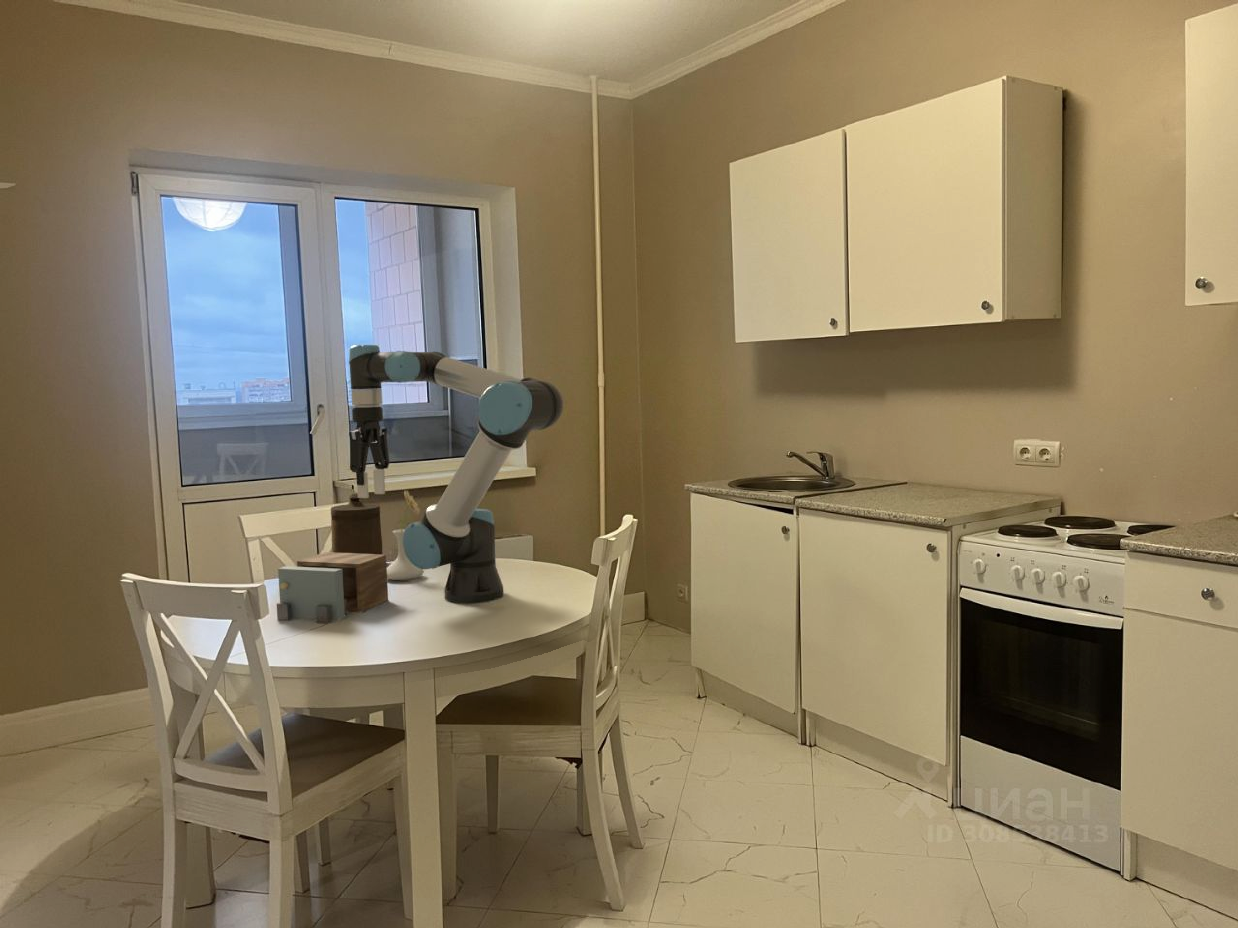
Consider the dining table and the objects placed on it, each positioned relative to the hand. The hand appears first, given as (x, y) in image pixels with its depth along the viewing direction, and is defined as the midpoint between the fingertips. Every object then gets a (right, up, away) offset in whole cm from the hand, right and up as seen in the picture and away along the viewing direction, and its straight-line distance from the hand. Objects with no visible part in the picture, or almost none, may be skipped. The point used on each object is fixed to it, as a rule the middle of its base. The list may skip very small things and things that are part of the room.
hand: (371, 495), depth 240 cm
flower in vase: (+2, -25, +27) cm, 37 cm away
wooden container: (-17, -23, +48) cm, 56 cm away
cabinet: (-6, -28, -2) cm, 28 cm away
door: (-10, -29, -15) cm, 34 cm away
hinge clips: (-10, -29, -15) cm, 34 cm away
